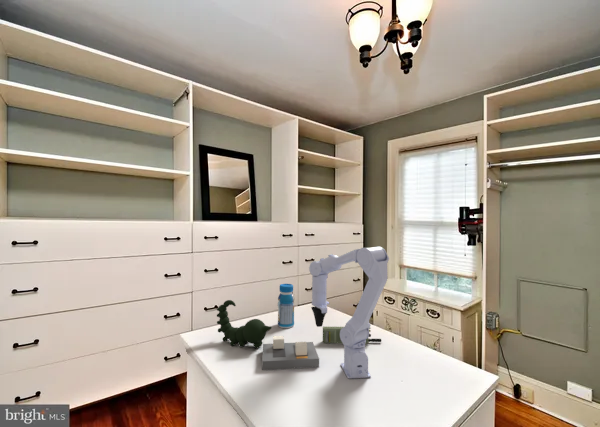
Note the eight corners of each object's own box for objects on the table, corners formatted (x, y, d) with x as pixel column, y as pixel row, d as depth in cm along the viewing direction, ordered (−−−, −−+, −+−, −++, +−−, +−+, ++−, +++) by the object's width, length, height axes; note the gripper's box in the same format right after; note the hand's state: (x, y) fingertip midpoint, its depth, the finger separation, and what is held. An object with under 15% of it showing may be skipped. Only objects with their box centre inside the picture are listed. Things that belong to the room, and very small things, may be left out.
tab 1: (283, 348, 108) (284, 339, 108) (273, 348, 107) (273, 339, 107) (283, 344, 110) (283, 335, 111) (273, 345, 110) (273, 336, 110)
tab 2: (307, 355, 102) (307, 345, 102) (296, 355, 102) (296, 345, 102) (305, 351, 105) (306, 341, 105) (295, 351, 105) (295, 342, 105)
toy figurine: (213, 349, 117) (267, 354, 109) (211, 302, 119) (264, 304, 110) (227, 340, 126) (277, 344, 118) (224, 297, 127) (274, 297, 119)
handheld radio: (322, 340, 123) (380, 341, 123) (323, 344, 120) (382, 345, 119) (322, 325, 123) (380, 326, 123) (323, 328, 120) (382, 329, 119)
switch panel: (319, 367, 100) (319, 358, 100) (262, 370, 98) (262, 361, 98) (312, 349, 114) (312, 341, 114) (262, 351, 112) (262, 343, 112)
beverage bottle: (284, 330, 134) (285, 287, 135) (274, 325, 140) (274, 284, 141) (297, 325, 140) (298, 285, 140) (287, 321, 146) (287, 282, 146)
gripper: (335, 295, 106) (334, 332, 106) (323, 286, 120) (323, 319, 120) (316, 296, 104) (316, 333, 104) (307, 287, 119) (307, 320, 118)
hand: (319, 325), depth 112 cm, fingers closed
